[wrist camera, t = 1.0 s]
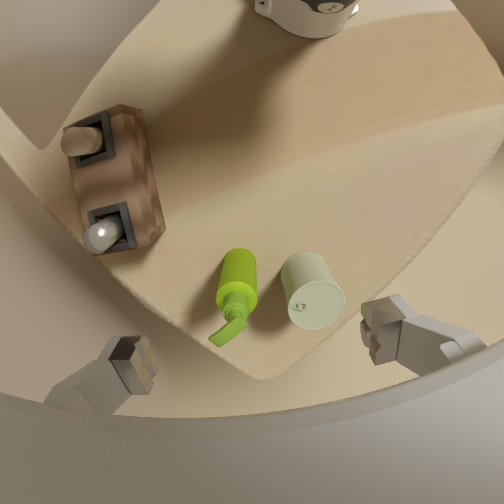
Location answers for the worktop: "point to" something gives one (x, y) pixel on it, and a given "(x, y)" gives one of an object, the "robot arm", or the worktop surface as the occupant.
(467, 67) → the worktop surface
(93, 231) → the steel peg
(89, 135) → the maple peg
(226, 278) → the soap dispenser
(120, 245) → the walnut block
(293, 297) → the can
